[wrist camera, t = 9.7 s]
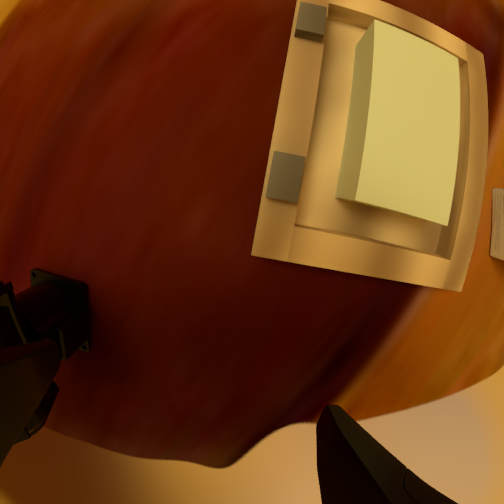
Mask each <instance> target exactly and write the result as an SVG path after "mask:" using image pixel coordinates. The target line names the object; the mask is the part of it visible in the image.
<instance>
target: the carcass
mask: <svg viewBox="0 0 504 504" xmlns="http://www.w3.org/2000/svg"><path fill="white" fill-rule="evenodd" d="M374 19H375V20H378V21H380V22H383V23H386V24H388V25H391V26H393V27H396V28H398V29H401V30H403V31H405V32H408V33H410V34H412V35H414V36H416V37H419V38H421V39H423V40H425V41H427V42H429V43H431V44H433V45H435V46H437V47H439V48H440V49H442V50H444V51H446V52H448V53H450V54H451V55H453V56H455V57H456V58H458V63H459V78H460V134H459V149H458V161H457V170H456V179H455V186H454V193H453V199H452V205H451V211H450V216H449V221H448V226H445V225H441V224H437V223H433V222H429V221H425V220H421V219H417V218H413V217H409V216H406V215H402V214H399V213H395V212H391V211H388V210H384V209H380V208H376V207H372V206H368V205H364V204H360V203H356V202H352V201H348V200H344V199H339V198H335V194H336V188H337V183H338V177H339V172H340V166H341V160H342V154H343V147H344V141H345V134H346V127H347V120H348V112H349V105H350V96H351V88H352V78H353V68H354V57H355V46H356V45H357V43H358V42H359V41H360V39H361V38H362V36H363V35H364V33H365V32H366V31H367V29H368V28H369V26H370V25H371V24H372V22H373V21H374ZM487 150H488V99H487V84H486V74H485V65H484V57H483V54H482V53H481V52H479V51H478V50H476V49H475V48H473V47H472V46H470V45H469V44H467V43H466V42H464V41H462V40H461V39H459V38H457V37H456V36H454V35H452V34H451V33H449V32H447V31H445V30H443V29H442V28H440V27H438V26H436V25H434V24H432V23H430V22H428V21H426V20H424V19H422V18H420V17H418V16H416V15H414V14H412V13H409V12H407V11H405V10H403V9H400V8H398V7H396V6H393V5H391V4H388V3H385V2H383V1H380V0H297V3H296V8H295V14H294V20H293V25H292V31H291V36H290V42H289V47H288V53H287V58H286V64H285V69H284V75H283V80H282V86H281V91H280V97H279V102H278V108H277V114H276V119H275V125H274V130H273V136H272V141H271V147H270V152H269V158H268V163H267V169H266V175H265V180H264V186H263V191H262V197H261V202H260V208H259V213H258V219H257V225H256V230H255V236H254V241H253V247H252V254H251V255H252V256H258V257H264V258H269V259H275V260H280V261H286V262H292V263H297V264H303V265H309V266H314V267H320V268H326V269H331V270H337V271H343V272H348V273H354V274H360V275H366V276H371V277H377V278H383V279H388V280H394V281H400V282H406V283H412V284H417V285H423V286H429V287H435V288H440V289H446V290H452V291H458V292H461V291H462V287H463V284H464V281H465V278H466V274H467V271H468V267H469V263H470V260H471V256H472V252H473V247H474V243H475V239H476V234H477V229H478V224H479V219H480V213H481V207H482V201H483V193H484V185H485V176H486V165H487Z"/></svg>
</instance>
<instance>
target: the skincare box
mask: <svg viewBox="0 0 504 504" xmlns="http://www.w3.org/2000/svg"><path fill="white" fill-rule="evenodd" d="M490 256H492V257H494V258H497V259H500V260H503V261H504V188H493V189H492V232H491V247H490Z"/></svg>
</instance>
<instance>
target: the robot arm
mask: <svg viewBox="0 0 504 504" xmlns="http://www.w3.org/2000/svg"><path fill="white" fill-rule="evenodd" d="M35 274H36V275H35ZM30 275H31V287H30V288H28V289H26V290H24V291H22V292H20V293H18V294H17V295H14V292H13V286H12V283H11V281H10V282H7V283H4V284H3V282H2V281H0V467H1V465H2V463H3V462H4V460H5V458H6V456H7V454H8V453H9V451H10V450H11V448H12V446H13V445H15V444H16V443H18V442H21V441H23V440H26V439H29V438H30V437H31V436H32V435H34V434H35V433H37V432H38V431H39V430H40V429H41V428H42V427H43V425H44V424H45V422H46V420H47V417H48V415H49V412H50V410H51V408H52V405H53V403H54V401H55V398H56V396H57V394H58V392H59V388H58V386H57V384H56V383H54V381H53V379H54V377H55V375H56V373H57V371H58V370H59V367H60V361H61V360H64V361H66V360H67V359H68V358H69V357H70V356H71V355H72V354H73V353H74V352H75V351H76V350H77V349H78V350H81V351H83V352H88V351H89V350H90V349H91V343H90V324H89V312H88V302H87V287H86V285H85V284H84V283H83V282H80V281H76V280H73V279H69V278H66V277H63V276H59V275H56V274H53V273H50V272H47V271H43V270H40V269H37V268H34V269H32V270H31V272H30ZM80 287H81V288H82V291H81V289H80ZM84 345H85V346H86V347H85V346H84ZM316 436H317V471H318V478H319V485H320V492H321V499H322V504H457V503H456V502H455V501H453V500H451V499H450V498H448V497H446V496H445V495H443V494H442V493H440V492H439V491H437V490H436V489H434V488H433V487H431V486H430V485H428V484H427V483H425V482H424V481H423V480H422V479H420V478H419V477H418V476H416V475H415V474H414V473H413V472H412V471H411V470H409V469H407V468H406V466H405V465H404V464H402V463H401V462H400V461H399V460H397V458H396V457H394V456H393V455H392V454H391V453H390V452H388V450H386V449H385V448H384V447H383V446H382V445H381V444H380V443H378V441H376V440H375V439H374V438H373V437H372V436H371V435H370V434H369V433H368V432H367V431H365V430H364V429H363V428H362V427H361V426H360V425H359V424H358V423H357V422H356V421H355V420H354V419H353V418H352V417H350V416H349V415H348V414H347V413H346V412H345V411H344V410H343V409H342V408H341V407H340V406H338V405H326V406H325V407H324V409H323V411H322V413H321V416H320V418H319V420H318V422H317V426H316Z"/></svg>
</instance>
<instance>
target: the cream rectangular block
mask: <svg viewBox="0 0 504 504" xmlns="http://www.w3.org/2000/svg"><path fill="white" fill-rule="evenodd" d="M459 134H460V78H459V63H458V58H456V57H455V56H453V55H451V54H450V53H448V52H446V51H444V50H442V49H440V48H439V47H437V46H435V45H433V44H431V43H429V42H427V41H425V40H423V39H421V38H419V37H416V36H414V35H412V34H410V33H408V32H405V31H403V30H401V29H398V28H396V27H393V26H391V25H388V24H386V23H383V22H380V21H378V20H375V19H374V21H373V22H372V24H371V25H370V26H369V28H368V29H367V31H366V32H365V33H364V35H363V36H362V38H361V39H360V41H359V42H358V43H357V45H356V46H355V57H354V68H353V78H352V88H351V96H350V105H349V112H348V120H347V127H346V134H345V141H344V147H343V154H342V160H341V166H340V172H339V177H338V183H337V188H336V194H335V198H339V199H344V200H348V201H352V202H356V203H360V204H364V205H368V206H372V207H376V208H380V209H384V210H388V211H391V212H395V213H399V214H402V215H406V216H409V217H413V218H417V219H421V220H425V221H429V222H433V223H437V224H441V225H445V226H448V221H449V216H450V211H451V205H452V199H453V193H454V186H455V179H456V170H457V161H458V149H459Z"/></svg>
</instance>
